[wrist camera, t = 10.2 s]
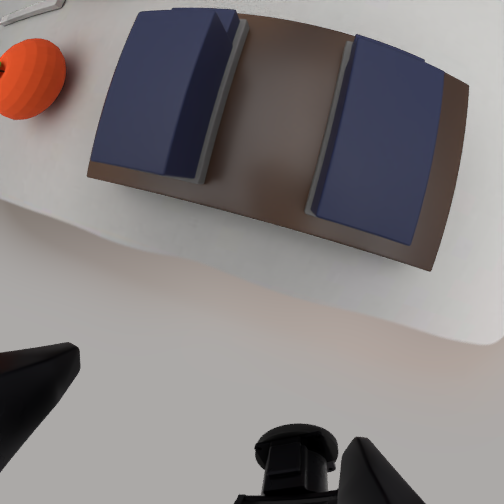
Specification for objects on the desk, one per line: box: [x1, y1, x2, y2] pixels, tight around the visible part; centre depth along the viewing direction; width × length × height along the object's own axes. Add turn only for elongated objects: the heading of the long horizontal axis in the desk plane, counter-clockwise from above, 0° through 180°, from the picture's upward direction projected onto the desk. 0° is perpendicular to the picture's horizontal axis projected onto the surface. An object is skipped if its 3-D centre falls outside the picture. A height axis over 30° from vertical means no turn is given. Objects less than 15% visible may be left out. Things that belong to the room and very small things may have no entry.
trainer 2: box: [304, 34, 445, 246], centre depth 11 cm, size 9×4×4 cm, turn 166°
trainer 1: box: [91, 8, 249, 184], centre depth 12 cm, size 9×4×4 cm, turn 166°
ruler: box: [0, 0, 65, 26], centre depth 17 cm, size 12×1×1 cm, turn 73°
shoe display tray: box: [87, 13, 469, 272], centre depth 15 cm, size 20×11×4 cm, turn 76°
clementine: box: [0, 38, 66, 120], centre depth 15 cm, size 8×7×7 cm
